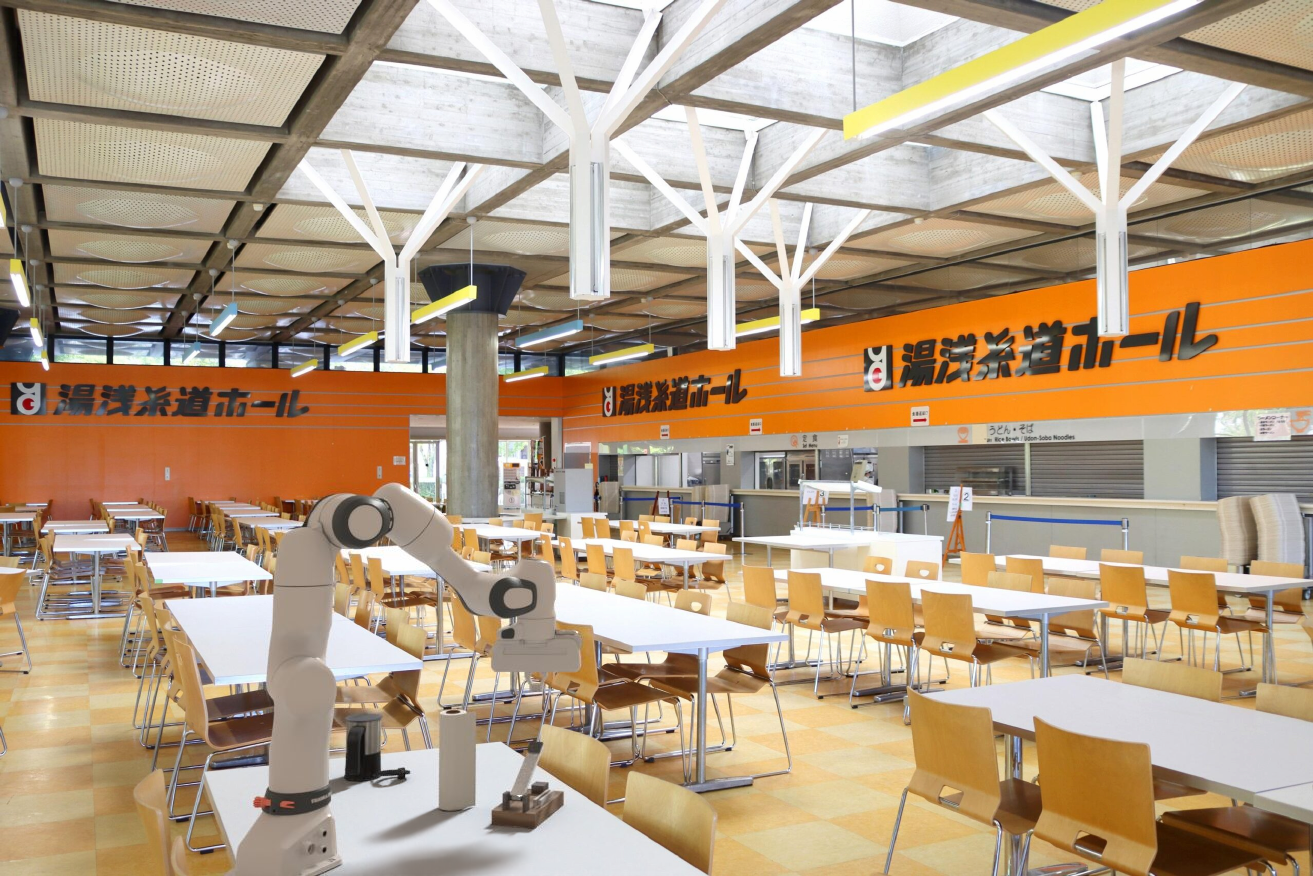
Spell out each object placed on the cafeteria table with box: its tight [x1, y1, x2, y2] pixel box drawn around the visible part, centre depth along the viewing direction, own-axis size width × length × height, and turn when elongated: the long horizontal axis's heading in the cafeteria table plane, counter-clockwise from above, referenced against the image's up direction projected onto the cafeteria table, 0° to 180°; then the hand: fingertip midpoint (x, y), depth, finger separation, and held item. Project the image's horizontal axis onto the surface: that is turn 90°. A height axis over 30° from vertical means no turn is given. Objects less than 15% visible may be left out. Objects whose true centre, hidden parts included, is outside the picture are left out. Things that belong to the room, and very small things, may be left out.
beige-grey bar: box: [508, 740, 546, 802], centre depth 223 cm, size 16×3×2 cm
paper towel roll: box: [438, 709, 477, 812], centre depth 229 cm, size 7×6×21 cm
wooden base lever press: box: [490, 780, 565, 829], centre depth 224 cm, size 17×10×6 cm, turn 164°
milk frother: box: [343, 713, 411, 782], centre depth 253 cm, size 14×16×15 cm
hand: (536, 691), depth 229 cm, fingers closed
